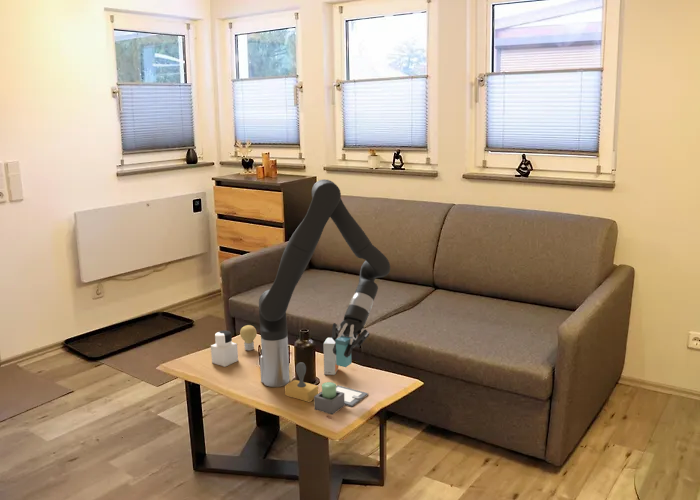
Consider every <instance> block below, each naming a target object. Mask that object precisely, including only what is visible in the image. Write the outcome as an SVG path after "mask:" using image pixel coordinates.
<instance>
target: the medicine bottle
mask: <svg viewBox="0 0 700 500" xmlns="http://www.w3.org/2000/svg"><path fill="white" fill-rule="evenodd" d="M214 339H215V343H213V344H211V345H210V353H211V354H210V355H211V363H212V364H215V365H217V366H221V367H224V368H225V367H227V366H230V365H232V364H234V363H236V362H238V361H239V354H238V343H236V342H233V341H232V340H233V339H232V332H231V331H230V330H226V329H225V330H219V331H217V332H216V333H215V334H214Z"/></svg>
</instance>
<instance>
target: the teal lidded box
mask: <svg viewBox="0 0 700 500" xmlns="http://www.w3.org/2000/svg"><path fill="white" fill-rule="evenodd" d="M349 341H350V338H349V337H345V336H342V337H339V338H337V339H335V344H336V365H338V367H341V368H347V367H348V366H350V365H351V364H352V354H351V355H350V356H349V357H348V358H347V357H345V356H344V352H345V350H346V348H347V345H349Z"/></svg>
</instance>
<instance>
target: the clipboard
mask: <svg viewBox="0 0 700 500" xmlns="http://www.w3.org/2000/svg"><path fill="white" fill-rule="evenodd" d="M336 391H339V392H342V393H344V403H345V406H347V407H354V406H355V405H357V404H358V403H359V402H360V401H362V400H363V399H364V398H365V397H367V396H368V392H364V391H361V390H358V389H354V388H351V387H346V386H343V385H337V384H336Z"/></svg>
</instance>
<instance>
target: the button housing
mask: <svg viewBox="0 0 700 500" xmlns="http://www.w3.org/2000/svg"><path fill="white" fill-rule="evenodd" d="M313 405H314V408H313V409H314V410H316V411H318V412H322V413H325V414H329V415H334V414H335V413H337V412H338V411H340V410H341V409H342V408H344V407H345V406H346V405H345V403H344V393H342V392H339V391H336V397H335V398H333V399H332V400H330V399H326V398H323V397H322V391H320V392H318V394H317V395H316V396H314V399H313Z"/></svg>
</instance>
